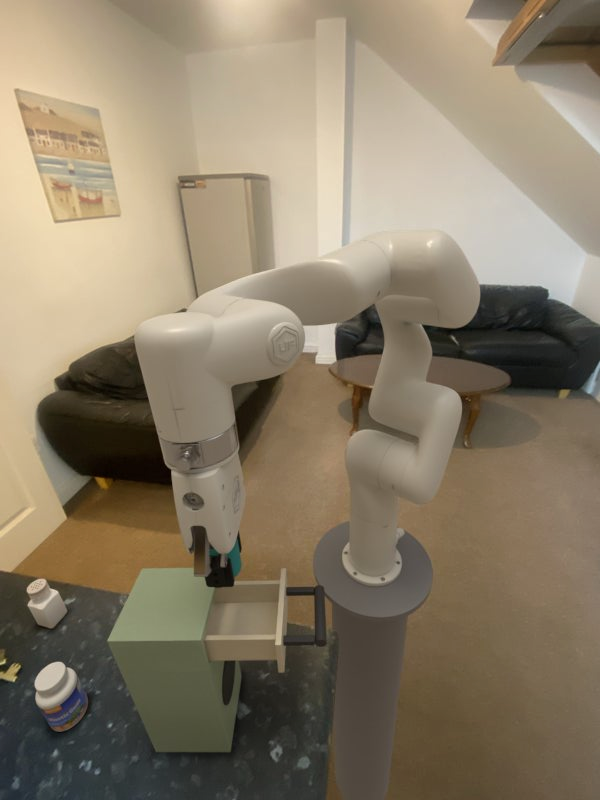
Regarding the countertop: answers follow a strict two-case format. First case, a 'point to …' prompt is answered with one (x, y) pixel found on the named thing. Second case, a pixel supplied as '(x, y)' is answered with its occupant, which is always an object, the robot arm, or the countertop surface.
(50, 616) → the salt shaker
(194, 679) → the green cabinet
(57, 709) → the pill bottle
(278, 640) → the drawer
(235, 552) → the pod
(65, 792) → the countertop surface
